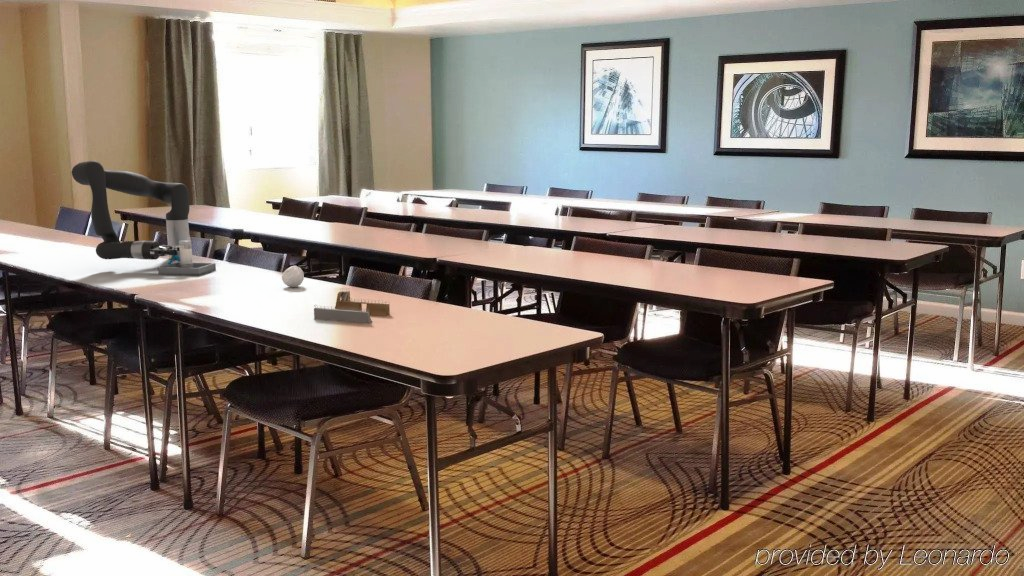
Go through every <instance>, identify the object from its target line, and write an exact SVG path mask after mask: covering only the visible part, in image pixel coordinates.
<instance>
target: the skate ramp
mask: <svg viewBox="0 0 1024 576" xmlns="http://www.w3.org/2000/svg"><path fill="white" fill-rule="evenodd" d="M335 301H336V302H335V306H334V307H333V306H330V308H329V306H327V305H326V306H325V305H324V307H323V306H319V307H317V305H316V304H315V305H313V315H314V316H313V318H314V320H318V321H320V320H321V321H330V322H341V323H352V324H353V323H356V324H365V325H367V324H371V323H373V321H372V318H371V316H372V317H385V318H386V317H387V316H390V313H391V310H390V307H391V306H390V303H389V301H381V302H380V299H379V300H376V301H375V300H371V302H370V299H367V301H366V298H365V299H363V298H360V299H357V301H356V300H352V298H351V291H350V288H347V289H346V288H343V287H342V288H340V291H338V292H337V296H336V300H335ZM377 302H378V303H377ZM363 304H365V305H366V306H365V307H366V308H364V310H363V306H362V305H363Z"/></svg>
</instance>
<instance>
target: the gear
mask: <svg viewBox="0 0 1024 576" xmlns="http://www.w3.org/2000/svg"><path fill="white" fill-rule="evenodd" d="M171 257H172V258H170V260H169V261H168V262H167V263H166V265H168V264H171V263H174V262H176V260H177V262H180V258H179V257H178V255H172V256H171Z"/></svg>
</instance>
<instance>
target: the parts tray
mask: <svg viewBox="0 0 1024 576" xmlns="http://www.w3.org/2000/svg"><path fill="white" fill-rule="evenodd" d="M216 264H217V263H216V262H193V268H181V264H180V262H179V261H174V262H172V263H171V264H168V265H167V264H165V265H161V266H158V267H157V275H158V276H184V277H185V276H190V277H191V276H192V277H193V276H195V277H196V276H197V277H200V276H203V275H206V274H210V273H212V272H215V271H217V268H216V267H217V265H216Z"/></svg>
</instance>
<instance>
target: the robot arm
mask: <svg viewBox="0 0 1024 576" xmlns="http://www.w3.org/2000/svg"><path fill="white" fill-rule="evenodd" d="M71 176H72V178H73V180H75V182H76V183H78V184H80V185H82V186H89V187H90V189H91V190H90V191H91V195H92V201H91V211H90V216H91V222H92V226H93V230H94V233H95V235H96V236H98V237H99V236H100V237H101V238H102V240H103V242H102V241H101V242H100V243H98V244H97V246H96V248H95V253H96V255H97V257H99V258H101V259H102V260H117V259H133V260H135V259H136V260H137V259H138V260H152V261H153V260H158V259H159V258H160V257H167V256H168V259H170V258H172V257H171V256H172V255H178V257H179V258H180V251H179V241H182V240H191V236H190V228H189V227H190V226H189V214H190V192H189V189H188V187H187V186H186V184H184V183H181V182H180V183H179V182H162V181H156V180H152V179H151V178H149V177H147V176H145V175H143V174H140V173H137V172H132V171H126V170H108V169H105V168H104V166H103V165H102V164H101V163H100V162H98V161H97V160H88V161H81V162H79V163H77V164H75V165H74V166H73V167H72V169H71ZM107 189H108V190H111V191H116V192H119V193H123V194H127V195H130V196H137V197H141V198H142V197H145V198H152V199H155V200H158V201H161V202H163V203H167V204H170V205H171V206H170V207H171V209H170V211H168V212H166V214H165V223H166V224H165V225H166V235H167V238H166V239H167V245H166V244H162V245H161V244H160V243H159V242H158V241H156V240H129V241H128V240H125V241H120V239H119V237H118V235H117V232H116V231H115V229H114V227H113V223H112V219H111V215H110V210H109V209H110V208H109V204H108V194H107ZM170 260H171V259H170Z"/></svg>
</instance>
